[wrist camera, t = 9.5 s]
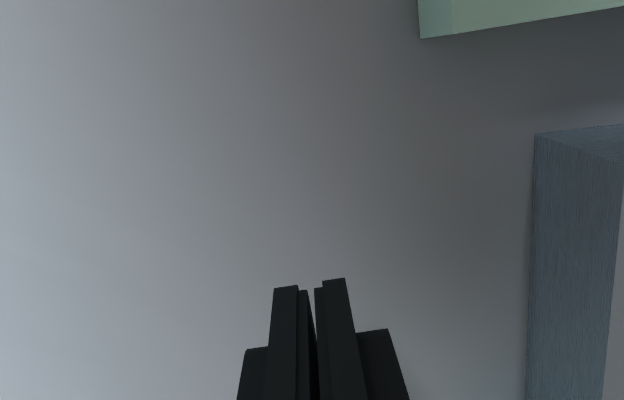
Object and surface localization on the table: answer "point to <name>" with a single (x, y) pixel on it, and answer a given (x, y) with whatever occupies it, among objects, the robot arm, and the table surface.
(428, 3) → the bay
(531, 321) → the gray rectangular block
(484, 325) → the table surface
